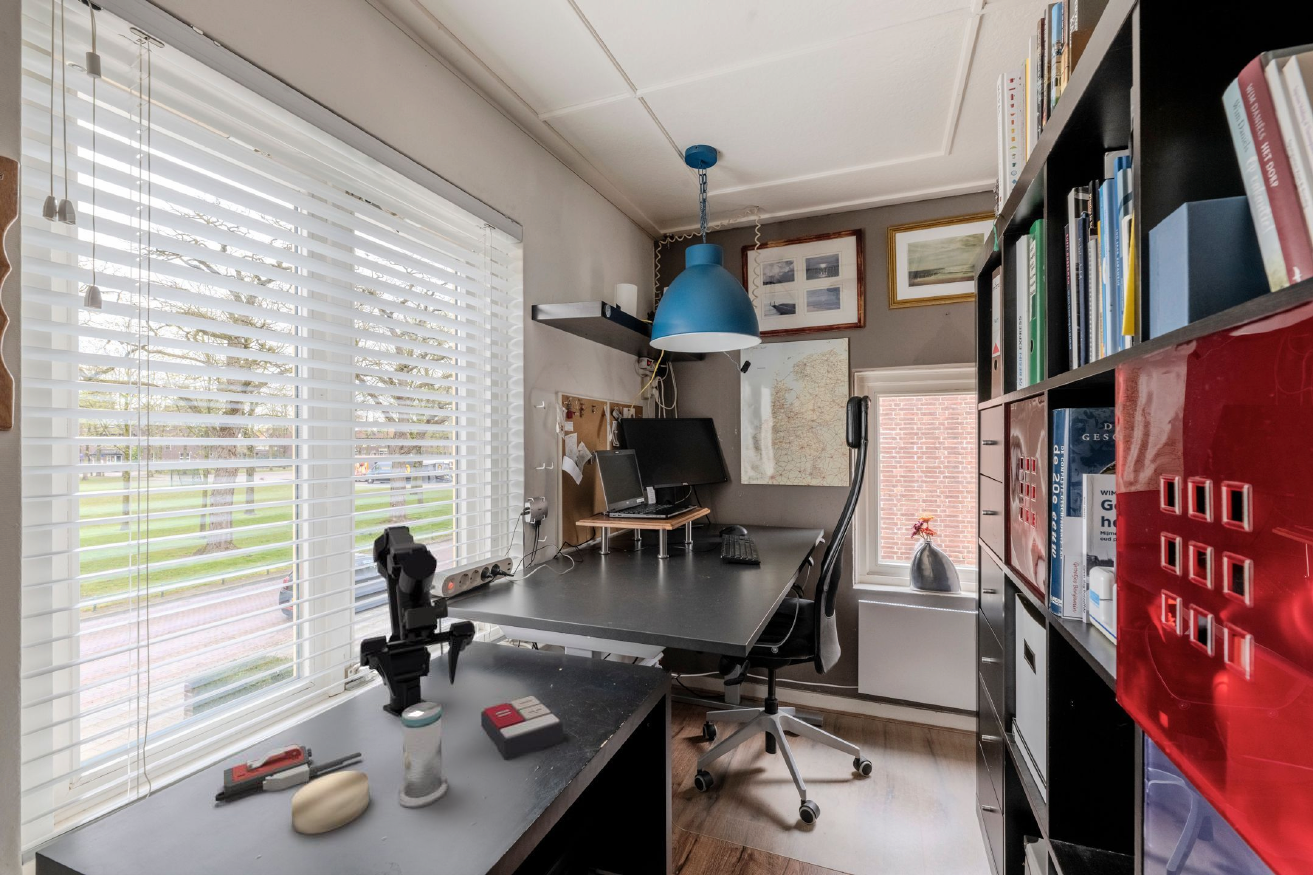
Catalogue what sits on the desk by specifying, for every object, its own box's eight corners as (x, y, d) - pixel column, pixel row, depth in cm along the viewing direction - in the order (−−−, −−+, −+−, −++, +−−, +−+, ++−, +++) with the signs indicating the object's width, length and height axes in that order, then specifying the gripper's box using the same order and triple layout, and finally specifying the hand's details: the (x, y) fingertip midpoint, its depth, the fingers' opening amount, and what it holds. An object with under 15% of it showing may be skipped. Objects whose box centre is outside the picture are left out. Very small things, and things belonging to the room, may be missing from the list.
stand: (279, 817, 82) (279, 796, 82) (348, 782, 90) (348, 763, 90) (311, 843, 76) (311, 821, 76) (382, 803, 84) (381, 783, 84)
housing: (388, 797, 86) (387, 713, 86) (430, 774, 92) (429, 695, 92) (415, 814, 82) (413, 726, 82) (457, 788, 88) (455, 706, 88)
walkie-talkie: (215, 815, 83) (362, 764, 96) (215, 786, 83) (362, 739, 96) (214, 788, 90) (352, 744, 103) (214, 761, 90) (352, 720, 103)
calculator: (533, 692, 114) (563, 717, 102) (534, 714, 114) (564, 741, 101) (480, 707, 108) (504, 736, 96) (480, 730, 108) (505, 761, 95)
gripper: (360, 593, 93) (364, 686, 85) (473, 578, 103) (488, 659, 94) (357, 622, 101) (362, 710, 92) (463, 605, 110) (476, 683, 102)
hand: (424, 690), depth 95 cm, fingers open, 9 cm apart
